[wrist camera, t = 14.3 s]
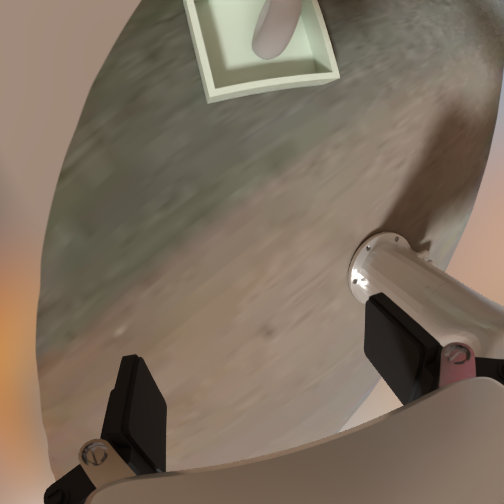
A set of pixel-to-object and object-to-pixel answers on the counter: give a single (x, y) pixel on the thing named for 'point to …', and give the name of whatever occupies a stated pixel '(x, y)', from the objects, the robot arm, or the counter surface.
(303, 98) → the counter surface
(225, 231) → the counter surface
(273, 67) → the bin
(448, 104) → the counter surface
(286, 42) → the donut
